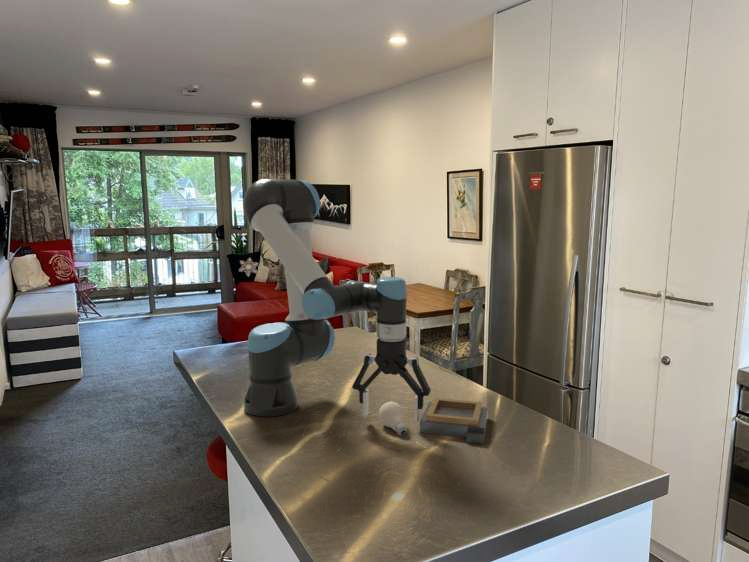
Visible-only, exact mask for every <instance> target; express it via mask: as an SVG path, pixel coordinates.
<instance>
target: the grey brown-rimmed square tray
mask: <svg viewBox="0 0 749 562" xmlns="http://www.w3.org/2000/svg"><path fill="white" fill-rule="evenodd" d="M488 419H489V407H486V406H483V402H482V401H473V400H461V399H451V398H439V397H434V398H433V400H432V401H429V402H428V404H427V405H426V408H425V410H424V412H423V414H422V416H421V418H420V419H419V433H420V434H421V433H422V434H423V433H424V434H430V435H442V436H449V437H457V438H465V443H466V444H476V445H484V439H485V436H486V435H485V434H486V430H487V429H486V428H487V424H488Z"/></svg>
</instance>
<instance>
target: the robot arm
mask: <svg viewBox="0 0 749 562" xmlns="http://www.w3.org/2000/svg"><path fill="white" fill-rule="evenodd" d="M244 193H245V194H244V197H243V202H242V208H243V213H244V217H245V218H246V220H247V222H248V224H249V226H250V227H251V228H252V229H253V230H254V231H256V232H259V233H260V234H261V236H262V238H263V239H264V240H265V241H266V243H267V244H268V245H269V247H270V249H271V251H273V253H274V254H275V256H276V257H277V259H278V260H279V261H280V263H281V264H282V265H283V267H284V276H285V283H286V285H285V286H286V292H287V301H288V310H289V314H288V315H287V316H286V318H284V319H285V322H279V321H278V322H273V323H264V324H261V325H258V326H256V327H253V329H251V330H250V332H249V334H248V339H247V340H248V341H247V349H248V372H249V373H248V375H249V376H248V377H249V378H248V379H249V381H248V386H247V389H246V393H245V397H244V400H243V410H244V412H245V413H247V414H248V415H251V416H255V417H260V418H261V417H269V418H270V417H278V416H279V417H280V416H284V415H288V414H290V413H293V412H294V411H296V410H297V409H298V407H299V398H298V394H297V392H296V388H295V386H294V384H293V380H292V367H296V366H299V365H303V364H306V363H310V362H317V361H319V360H320V359H323V358H326V357H328V356H329V354H330V353H331V352H332V351H333V348H334V346H335V341H336V335H335V330H334V327H333V326H332V324H331V322H329V320H327V319H330V318H334V317H338V316H342V315H343V316H344V315H348V314H353V313H358V312H368V313H374V314H376V337H377V339H376V356H375V355H372V354H371V353H367V354H366V355H365V356H364V358H363V365H362V367H361V369H360V370H359V373H358V375H357V377H356V378H355V380H354V382H353V384H352V386H351V388H352V389H353V390H357V391H358V395H359V396H358V397H359V401H358V402H359V404H362V417H363V418H366V417H368V415H369V412H370V410H369V408H370V407H369V406H370V404H369V400H370V399H369V398H370V397H369V394H370V393H369V392H370V391H369V389H367V388H368V387H369V386H370V385H371V383H372V382H373V381H374V380H375V379H376V378H377V377H378V376H379V374H381V373H383V374H384V375H393V376H397V375H399V376H400V377H401V378H402V379H403V380H404V381H405V382H406V383H407V385H408V386H409V387H410V389H411V390H412V391H413V393H414V394H415V396H414V399H413V400H414V406H413V407H414V411H413V412H414V415H413V416H414V417H413V418H414V419H413V420H414V421H413V422H414V423H418V422H419V421H420V410H422V409H423V407H424V397H426V396H427V397H428V396H429V395H430V393H431V391H432V390H431V388H430V385H429V384H428V381H427V380H426V377H425V375H424V372H423V371H422V369H421V367H420V363H419V357H417V356H415V357H413V358H408V357H407V340H406V337H407V317H406V316H407V298H408V294H407V281H406V280H405V279H404V278H402V277H395V276H394V277H393V276H383V277H379V278H378V279H377V280H376V283H373V282H366V281H365V282H364V281H362V280H349V281H346V282H345V283H344V284H341V285H340V284H339V285H334V284H333V282H332V281H331V280H330V279H329V278H328V276H327V275H326V273H325V272H324V271H323V269H322V267H321V266H320V265H319V263H318V262H317V261H316V260H315V258H314V256H313V251H312V250H313V249H312V241H311V232H310V231H311V229H312V227H313V225H314V224H315V223H314V222H315V220H314V218H315V217H317V215H318V214H319V210H320V208H321V201H320V200H321V199H320V196H319V193H318V190H317V189H316V188H315V186H313V184H311V183H310V182H308V181H306V180H302V179H288V178H287V179H282V178H281V179H280V178H279V179H278V178H277V179H276V178H262V179H258V180H256V181H255V182H253V183H252V184H250V186H249V187H248V188H247V190H246V192H244ZM373 362H375V364H376V366H378V367H377V368H376V370H374V371H373V373H372V374H371V375H370V376H369V377H368V378H367V379H366V381H364V382H363V384H361V382H362V380H363V378H364V377H365V375H366V373H367V371H368V369H369V367H370V365H372V364H373ZM407 365H409V366H410V367H411V368H412V371H413V373H414V375H415V377H416V379H417V381H416V380H415V379H414V378H413V377H412V375H411V374H410V373H409V369H408V368H406V366H407ZM417 382H418V383H419V384H418V383H417Z"/></svg>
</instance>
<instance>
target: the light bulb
mask: <svg viewBox="0 0 749 562" xmlns="http://www.w3.org/2000/svg"><path fill="white" fill-rule="evenodd" d="M378 417H379V420H380V422H381V424H383V425H384V426H385V427H388V428H390V429H392V430H393V431H395V432H396V434H397V435H398V436H399V437H400V436H401V437H402V436H405V435H406V434H407V433H408V427H407V426H406V423H405V419H404V417H405V413H404V410H403V407H402V406H401V405H400V404H399V403H398V402H395V401H387V402H385V403H383V404H382V405H381V407H380V408H379V411H378Z"/></svg>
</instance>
